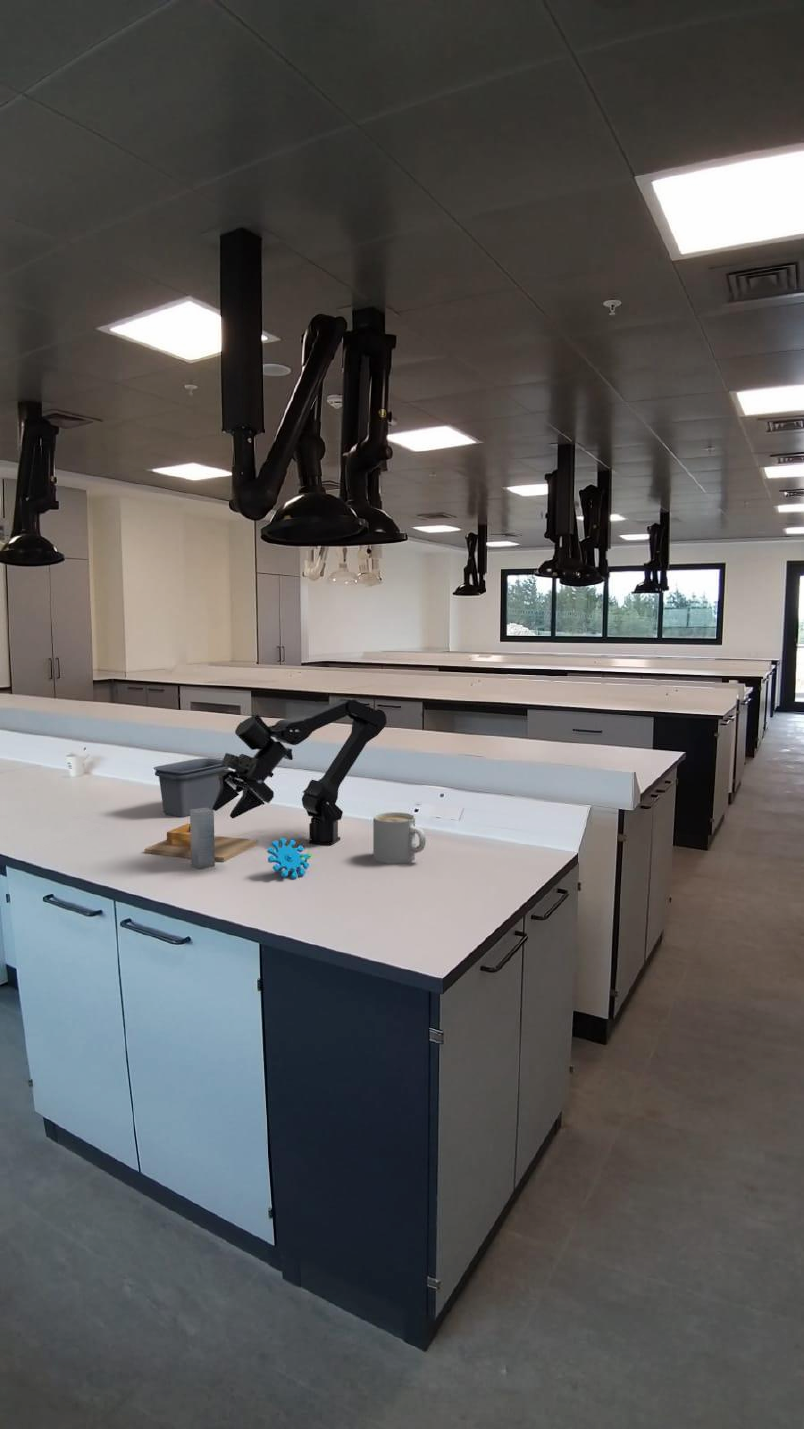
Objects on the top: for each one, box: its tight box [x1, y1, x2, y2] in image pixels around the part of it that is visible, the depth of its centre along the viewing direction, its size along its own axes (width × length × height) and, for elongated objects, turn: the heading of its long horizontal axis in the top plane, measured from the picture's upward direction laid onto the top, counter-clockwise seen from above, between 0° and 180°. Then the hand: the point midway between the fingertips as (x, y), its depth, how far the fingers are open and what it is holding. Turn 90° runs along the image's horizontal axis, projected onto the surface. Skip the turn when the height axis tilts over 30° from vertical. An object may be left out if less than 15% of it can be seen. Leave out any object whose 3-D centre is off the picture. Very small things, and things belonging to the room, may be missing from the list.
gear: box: [266, 837, 313, 880], centre depth 169 cm, size 11×6×10 cm
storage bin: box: [153, 757, 230, 818], centre depth 227 cm, size 21×16×14 cm
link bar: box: [189, 808, 216, 870], centre depth 173 cm, size 4×4×13 cm
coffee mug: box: [372, 811, 427, 865], centre depth 180 cm, size 13×10×10 cm
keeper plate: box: [144, 823, 258, 863], centre depth 188 cm, size 22×16×4 cm
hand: (222, 813), depth 176 cm, fingers open, 9 cm apart
